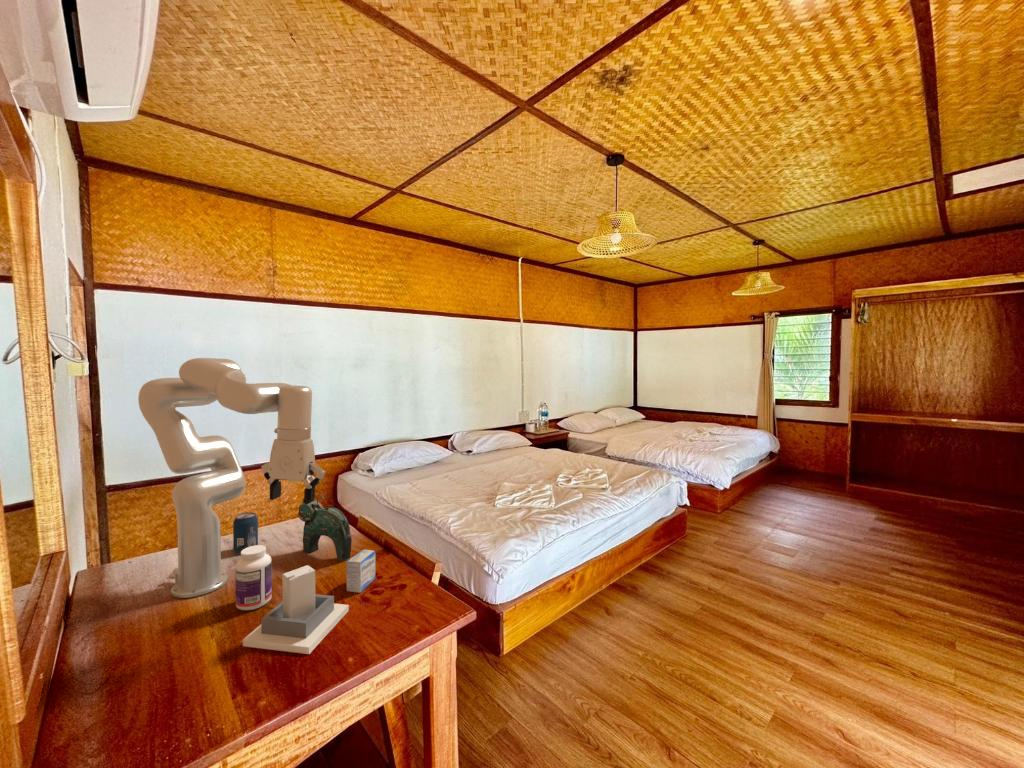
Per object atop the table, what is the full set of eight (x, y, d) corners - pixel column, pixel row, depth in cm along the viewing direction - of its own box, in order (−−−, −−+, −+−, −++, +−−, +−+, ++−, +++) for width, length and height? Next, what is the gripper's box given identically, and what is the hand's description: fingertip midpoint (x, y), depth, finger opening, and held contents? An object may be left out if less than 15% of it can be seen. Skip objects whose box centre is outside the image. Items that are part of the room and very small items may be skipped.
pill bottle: (259, 592, 111) (259, 540, 110) (278, 599, 107) (278, 546, 107) (228, 607, 104) (228, 552, 103) (247, 616, 100) (247, 559, 100)
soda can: (240, 546, 139) (240, 511, 138) (261, 545, 140) (261, 511, 139) (228, 555, 132) (228, 519, 132) (251, 554, 133) (251, 518, 132)
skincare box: (308, 611, 100) (308, 563, 100) (316, 618, 97) (316, 569, 97) (281, 623, 95) (281, 572, 95) (289, 631, 92) (289, 579, 92)
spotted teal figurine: (296, 552, 135) (296, 493, 134) (312, 545, 141) (312, 488, 140) (341, 564, 127) (341, 502, 126) (356, 556, 133) (356, 496, 132)
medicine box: (360, 593, 111) (360, 562, 111) (346, 591, 112) (346, 560, 112) (375, 579, 119) (375, 550, 118) (362, 577, 120) (362, 548, 119)
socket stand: (242, 646, 89) (242, 624, 89) (291, 604, 105) (291, 586, 105) (309, 654, 87) (309, 631, 87) (348, 610, 103) (348, 591, 103)
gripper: (252, 433, 100) (250, 501, 101) (315, 439, 97) (313, 509, 98) (274, 429, 107) (273, 492, 108) (334, 434, 105) (331, 499, 105)
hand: (292, 500), depth 103 cm, fingers open, 9 cm apart
